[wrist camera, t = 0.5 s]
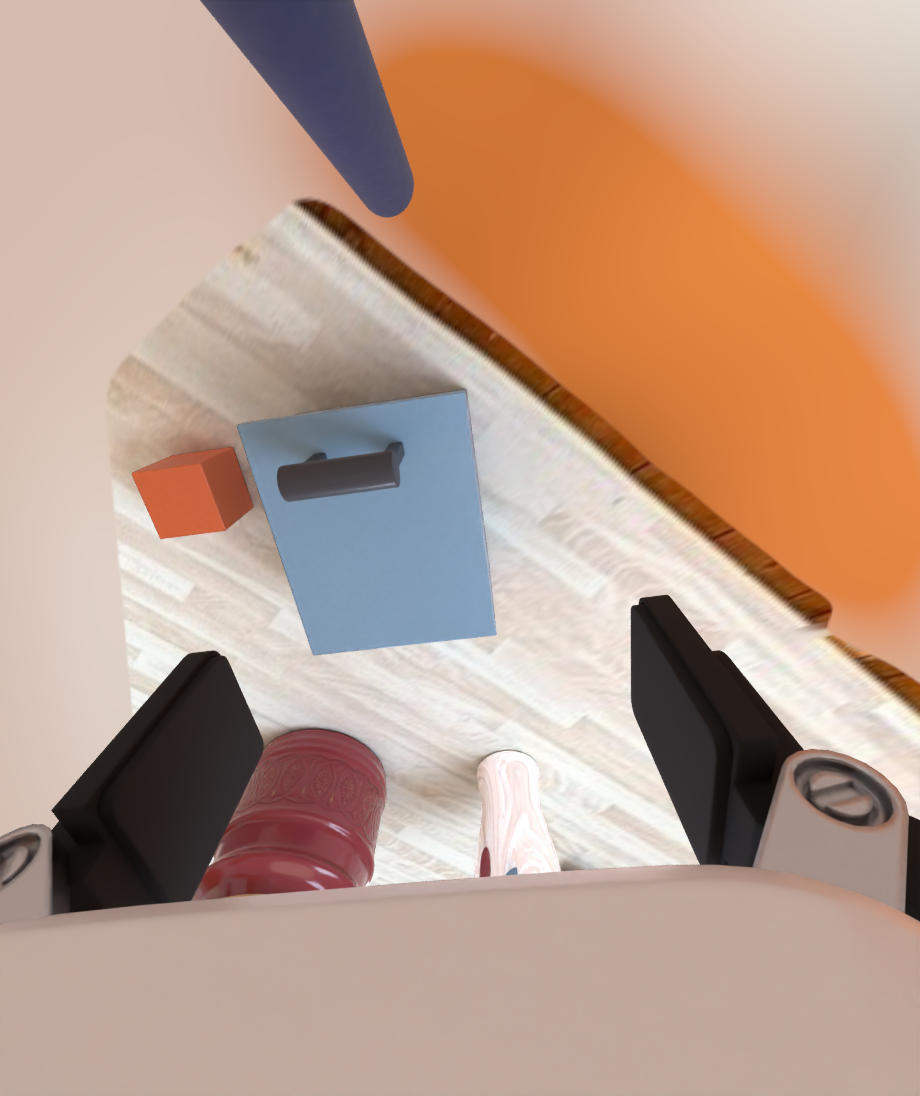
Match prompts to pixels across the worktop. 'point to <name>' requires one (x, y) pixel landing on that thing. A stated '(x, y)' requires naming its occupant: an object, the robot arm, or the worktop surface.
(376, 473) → the lid
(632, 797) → the worktop surface
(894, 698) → the worktop surface
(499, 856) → the silver metal tumbler
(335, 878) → the kitchen canister
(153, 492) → the orange cube
